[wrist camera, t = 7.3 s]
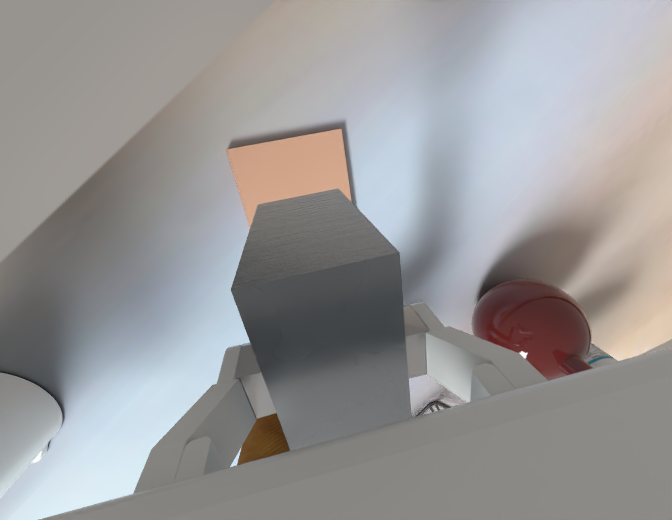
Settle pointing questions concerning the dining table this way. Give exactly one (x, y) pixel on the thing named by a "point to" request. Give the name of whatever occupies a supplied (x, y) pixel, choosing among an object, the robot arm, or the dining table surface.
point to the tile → (289, 168)
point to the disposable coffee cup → (264, 440)
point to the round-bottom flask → (536, 325)
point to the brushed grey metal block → (324, 317)
